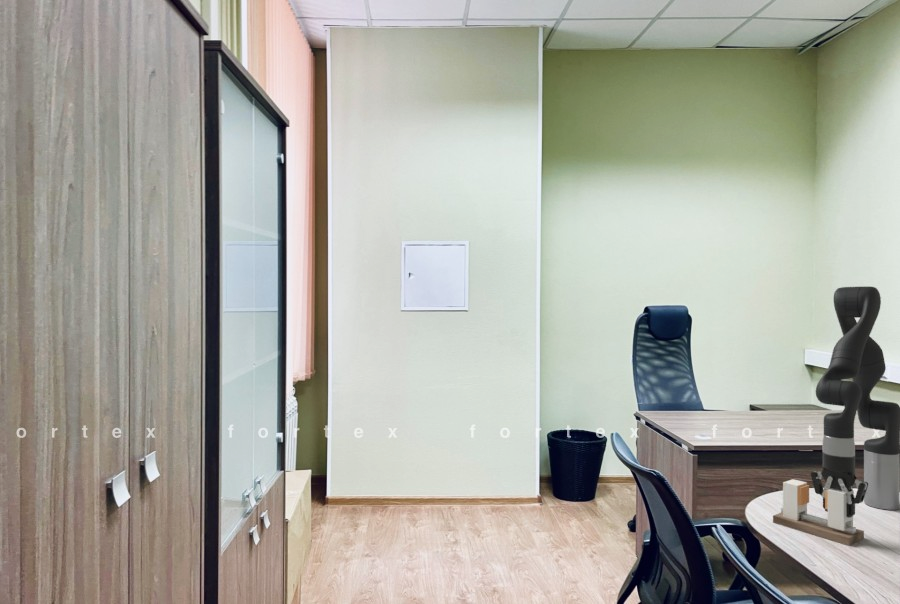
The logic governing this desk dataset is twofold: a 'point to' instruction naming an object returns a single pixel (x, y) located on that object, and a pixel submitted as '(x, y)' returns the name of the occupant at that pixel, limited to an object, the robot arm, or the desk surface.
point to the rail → (819, 530)
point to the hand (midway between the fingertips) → (838, 513)
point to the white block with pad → (837, 509)
